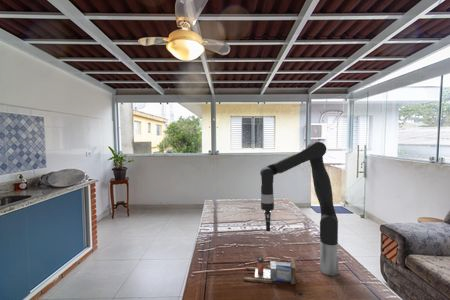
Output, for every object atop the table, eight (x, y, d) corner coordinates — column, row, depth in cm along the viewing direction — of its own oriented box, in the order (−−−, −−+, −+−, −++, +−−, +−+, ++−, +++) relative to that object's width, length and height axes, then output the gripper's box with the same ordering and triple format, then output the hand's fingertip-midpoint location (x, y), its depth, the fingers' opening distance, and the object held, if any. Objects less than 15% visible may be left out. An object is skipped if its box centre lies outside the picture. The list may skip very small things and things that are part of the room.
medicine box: (276, 280, 130) (276, 265, 130) (275, 276, 135) (275, 261, 134) (291, 282, 129) (291, 266, 129) (290, 277, 133) (290, 262, 133)
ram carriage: (275, 272, 138) (275, 256, 138) (276, 281, 130) (276, 264, 129) (255, 270, 140) (255, 254, 140) (254, 279, 132) (254, 262, 131)
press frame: (293, 272, 138) (293, 257, 137) (295, 285, 126) (295, 268, 126) (246, 268, 143) (246, 253, 142) (244, 280, 131) (243, 264, 131)
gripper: (274, 204, 134) (275, 233, 135) (273, 198, 148) (273, 224, 149) (260, 204, 135) (261, 232, 136) (260, 198, 149) (261, 224, 150)
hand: (267, 228), depth 142 cm, fingers open, 8 cm apart
